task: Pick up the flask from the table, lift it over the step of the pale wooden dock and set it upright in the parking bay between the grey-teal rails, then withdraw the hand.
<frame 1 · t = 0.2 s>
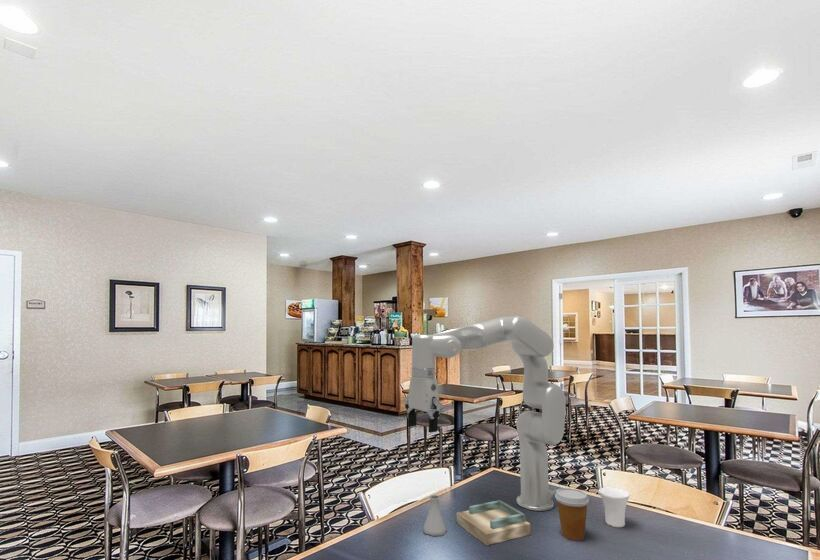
hand: (422, 429, 134), 30 cm above the table, tool pointing down, fingers open, 9 cm apart
flask: (434, 531, 130), on the table
dock: (492, 528, 132), on the table
disposable coffee cup: (573, 536, 127), on the table
cup: (614, 524, 135), on the table
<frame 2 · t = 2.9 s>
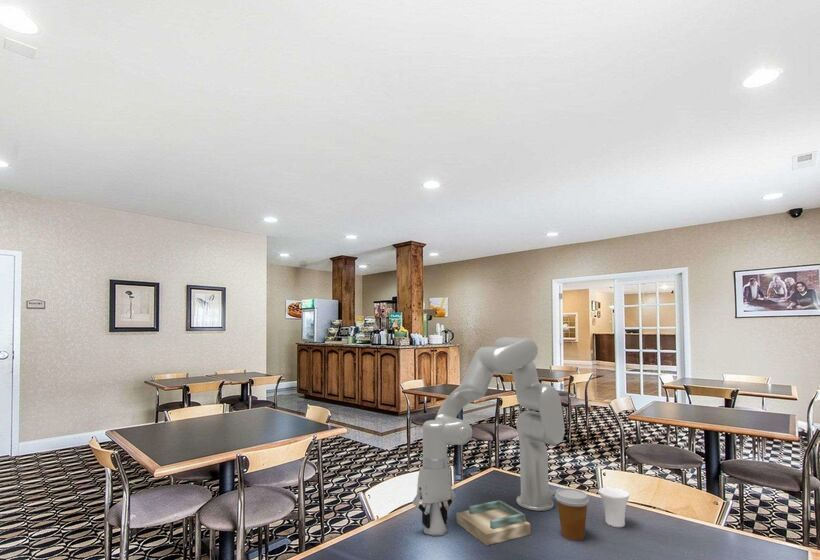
hand: (434, 524, 130), 2 cm above the table, tool pointing down, fingers closed on flask, 5 cm apart
flask: (434, 531, 130), on the table, touching gripper
everything else where it was.
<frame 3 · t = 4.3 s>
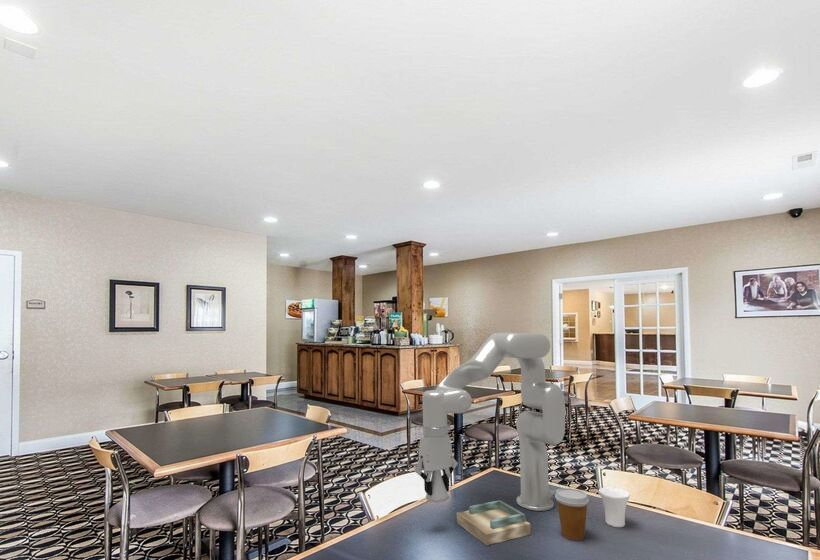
hand: (437, 491, 132), 11 cm above the table, tool pointing down, fingers closed on flask, 5 cm apart
flask: (437, 499, 131), point 9 cm above the table, touching gripper
everything else where it was.
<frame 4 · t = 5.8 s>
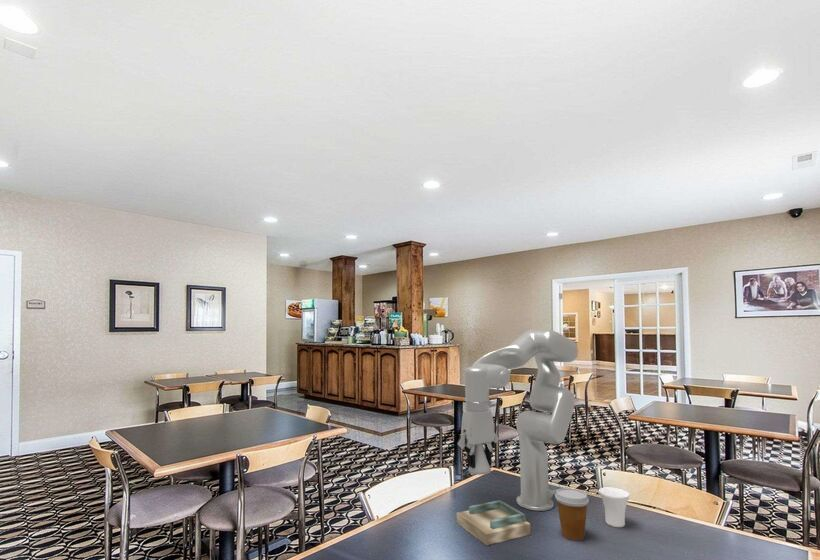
hand: (479, 464, 134), 19 cm above the table, tool pointing down, fingers closed on flask, 5 cm apart
flask: (479, 472, 134), point 16 cm above the table, touching gripper
everything else where it was.
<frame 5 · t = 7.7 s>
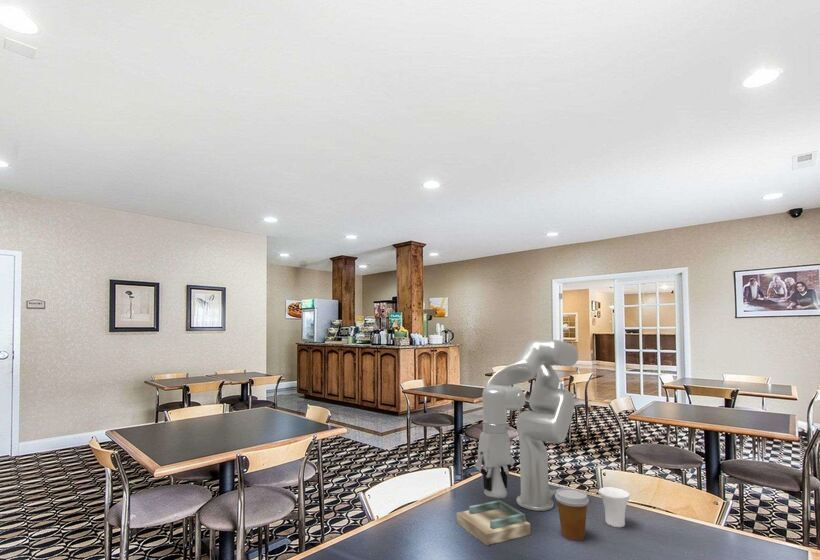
hand: (495, 487, 134), 12 cm above the table, tool pointing down, fingers closed on flask, 5 cm apart
flask: (495, 495, 133), point 10 cm above the table, touching gripper
everything else where it was.
when the fingers open (7 cm above the table, at t = 9.0 s): flask drops 2 cm, resting on dock.
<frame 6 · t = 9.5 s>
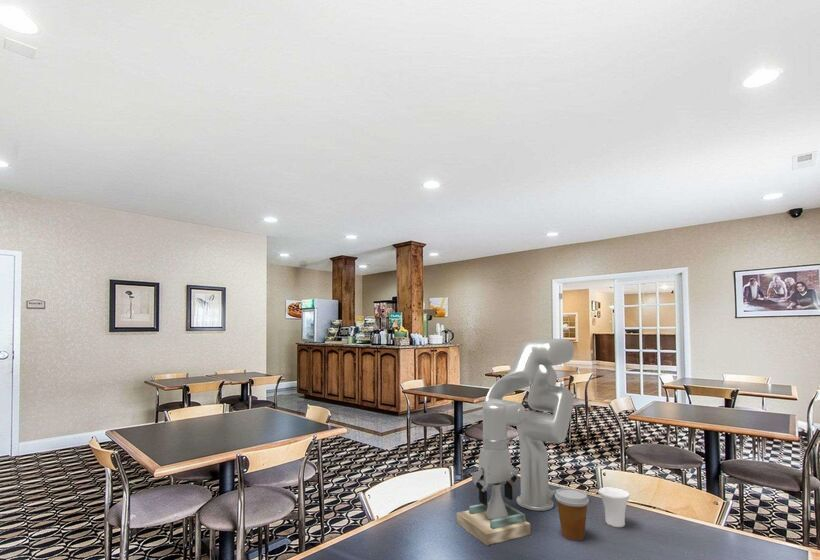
hand: (496, 500, 133), 8 cm above the table, tool pointing down, fingers open, 9 cm apart
flask: (496, 517, 133), point 3 cm above the table, touching dock
everything else where it was.
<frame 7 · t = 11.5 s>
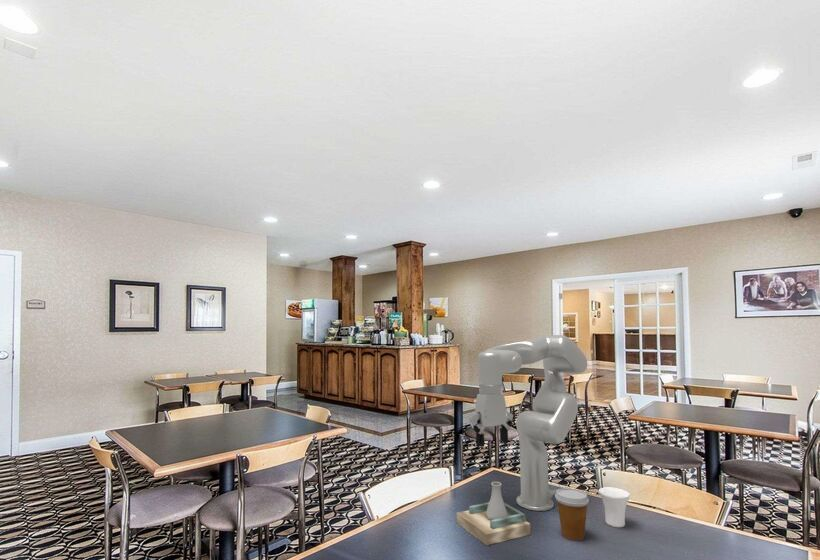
hand: (492, 443, 139), 24 cm above the table, tool pointing down, fingers open, 9 cm apart
nothing on the table moved.
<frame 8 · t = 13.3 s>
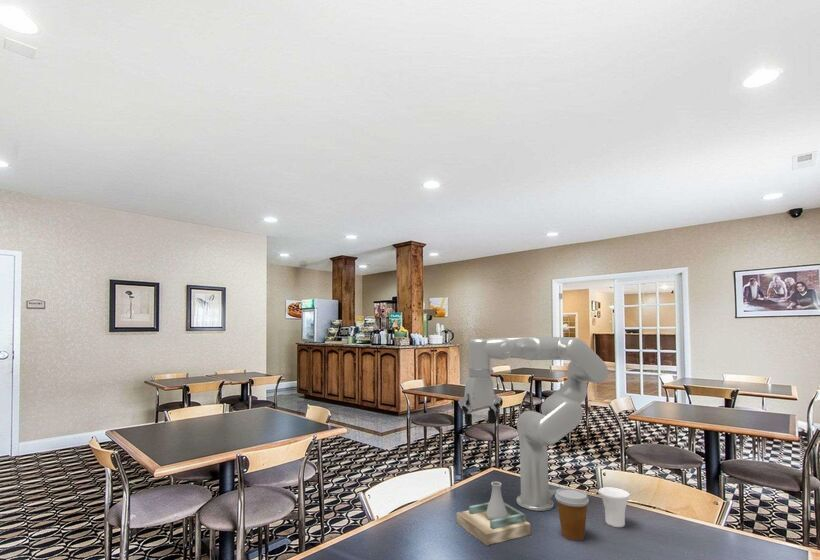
hand: (480, 423, 149), 28 cm above the table, tool pointing down, fingers open, 9 cm apart
nothing on the table moved.
at the end: flask 0.3 cm from the target spot on the dock, point 2.8 cm above the dock's base; flask tilted 0°; the gripper is holding nothing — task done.
